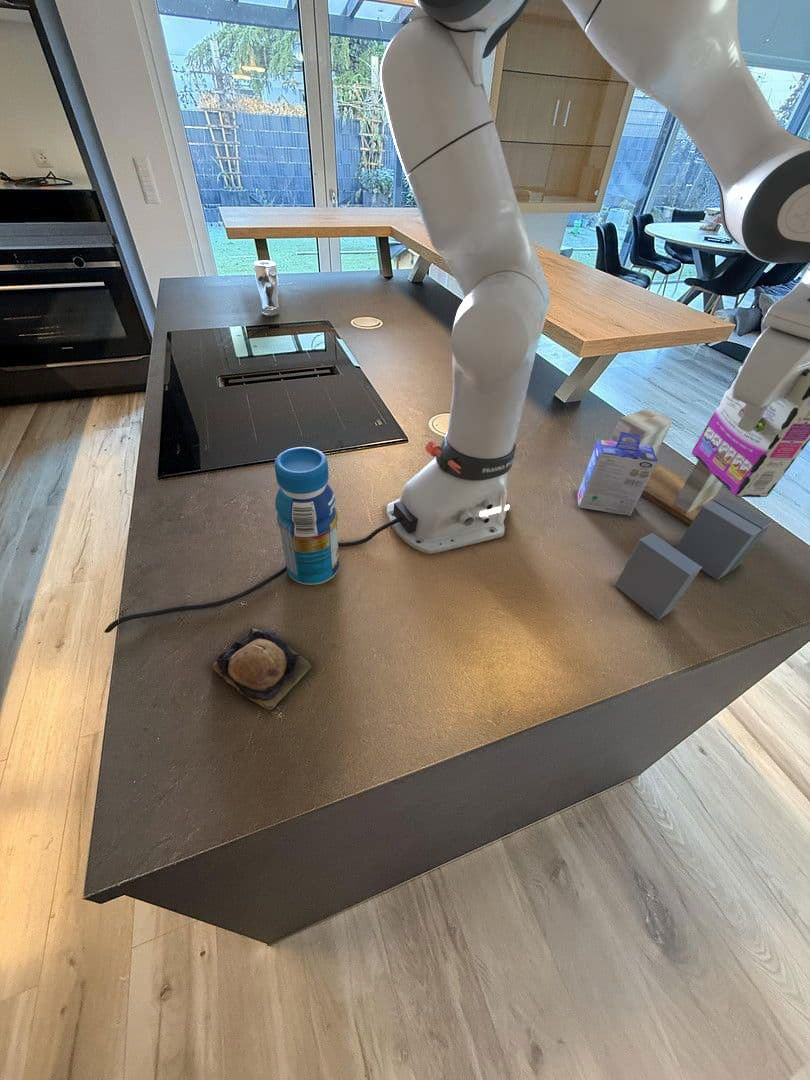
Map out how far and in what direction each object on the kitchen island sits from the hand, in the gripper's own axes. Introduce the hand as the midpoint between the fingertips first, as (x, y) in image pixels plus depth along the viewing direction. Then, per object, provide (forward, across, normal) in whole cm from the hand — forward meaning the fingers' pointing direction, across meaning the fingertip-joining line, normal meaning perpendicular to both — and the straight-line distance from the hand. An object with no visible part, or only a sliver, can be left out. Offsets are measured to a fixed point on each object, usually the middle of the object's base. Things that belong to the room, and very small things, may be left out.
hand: (761, 421), depth 59 cm
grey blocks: (+27, +1, +3) cm, 27 cm away
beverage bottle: (+27, +52, -29) cm, 65 cm away
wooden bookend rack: (+27, -18, -14) cm, 35 cm away
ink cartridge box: (+27, -4, -16) cm, 32 cm away
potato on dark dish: (+27, +65, -16) cm, 72 cm away
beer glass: (+28, +14, -145) cm, 148 cm away
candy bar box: (+8, 0, 0) cm, 8 cm away
